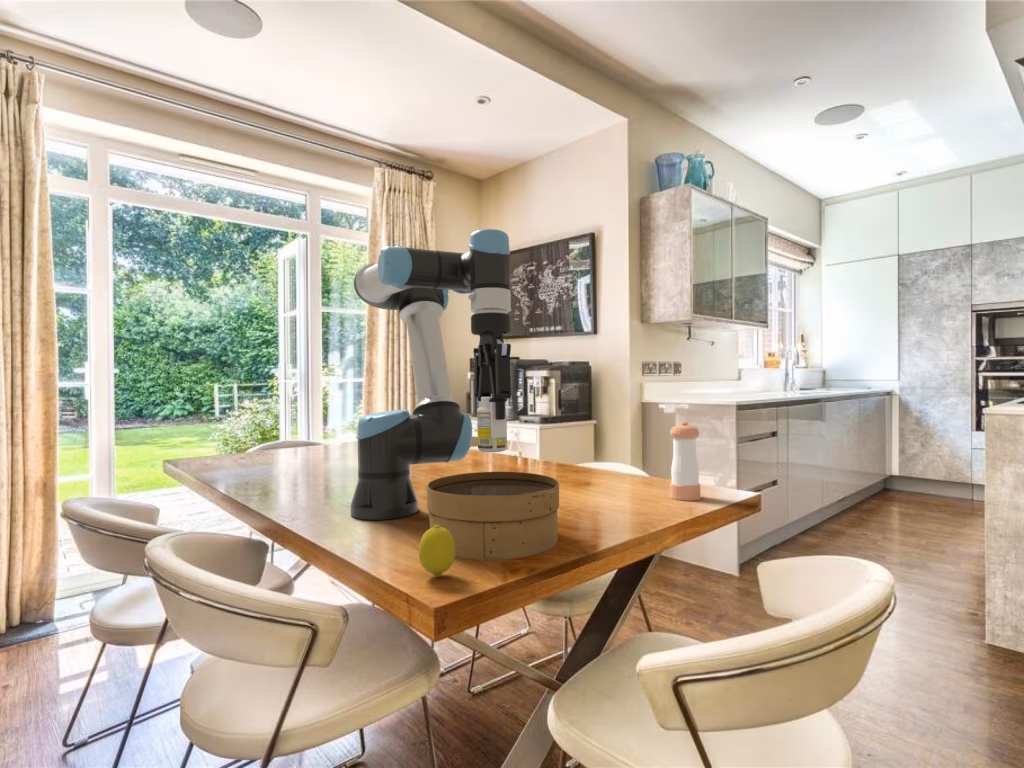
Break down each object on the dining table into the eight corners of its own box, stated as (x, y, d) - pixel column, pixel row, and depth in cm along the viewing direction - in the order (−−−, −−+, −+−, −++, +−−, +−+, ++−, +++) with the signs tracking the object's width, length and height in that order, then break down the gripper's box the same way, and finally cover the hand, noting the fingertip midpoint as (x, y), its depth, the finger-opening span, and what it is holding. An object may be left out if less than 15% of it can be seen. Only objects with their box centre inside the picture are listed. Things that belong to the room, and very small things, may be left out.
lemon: (412, 577, 83) (411, 525, 83) (440, 568, 87) (439, 518, 87) (435, 586, 79) (434, 531, 79) (463, 576, 83) (462, 524, 83)
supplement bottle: (505, 448, 106) (504, 396, 106) (508, 452, 100) (507, 397, 100) (477, 449, 105) (476, 396, 105) (478, 453, 100) (477, 397, 100)
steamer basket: (586, 548, 97) (584, 484, 97) (452, 572, 86) (450, 501, 86) (525, 518, 119) (524, 467, 119) (413, 534, 109) (412, 478, 109)
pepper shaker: (704, 500, 134) (703, 422, 134) (675, 501, 134) (674, 423, 134) (694, 494, 141) (693, 420, 141) (666, 494, 141) (665, 421, 141)
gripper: (457, 318, 110) (458, 433, 110) (489, 306, 93) (491, 441, 93) (491, 319, 113) (493, 431, 113) (529, 307, 96) (531, 439, 96)
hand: (492, 435), depth 103 cm, fingers closed on supplement bottle, 5 cm apart
